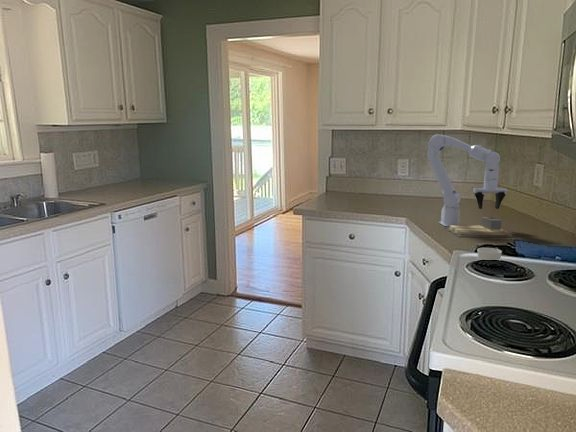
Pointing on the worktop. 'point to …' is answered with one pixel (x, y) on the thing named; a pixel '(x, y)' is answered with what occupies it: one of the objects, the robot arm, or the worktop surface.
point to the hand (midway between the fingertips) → (488, 208)
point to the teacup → (489, 253)
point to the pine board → (475, 231)
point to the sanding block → (491, 223)
